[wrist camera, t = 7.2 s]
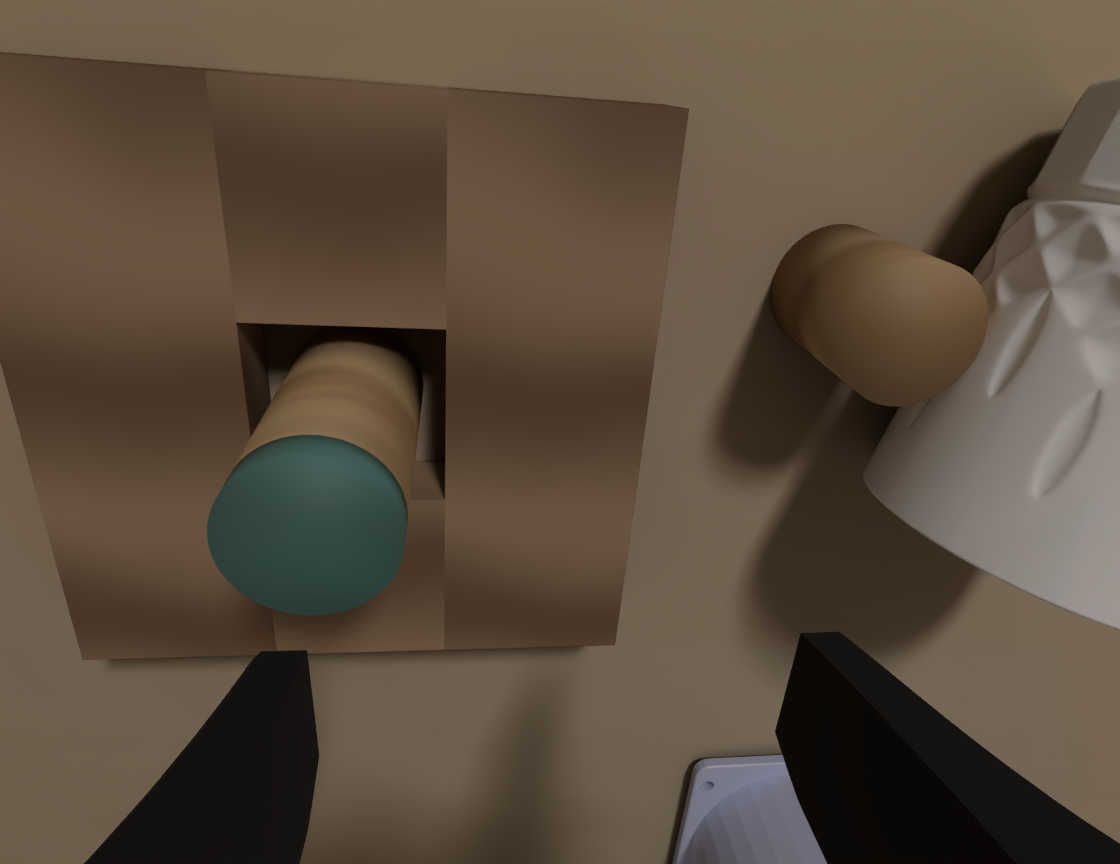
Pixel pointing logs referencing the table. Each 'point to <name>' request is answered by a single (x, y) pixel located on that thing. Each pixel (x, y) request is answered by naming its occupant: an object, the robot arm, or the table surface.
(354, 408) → the long dowel
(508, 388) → the wooden board with hole
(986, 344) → the white cup
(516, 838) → the table surface
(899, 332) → the short dowel
